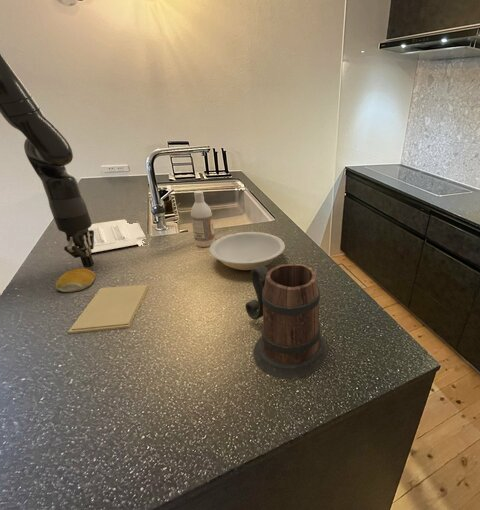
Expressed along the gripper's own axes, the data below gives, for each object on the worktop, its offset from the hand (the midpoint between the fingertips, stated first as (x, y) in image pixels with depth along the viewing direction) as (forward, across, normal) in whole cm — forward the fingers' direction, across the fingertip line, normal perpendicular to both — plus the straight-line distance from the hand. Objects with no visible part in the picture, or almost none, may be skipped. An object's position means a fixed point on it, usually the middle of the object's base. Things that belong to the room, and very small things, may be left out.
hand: (89, 266), depth 93 cm
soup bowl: (+2, +2, +47) cm, 47 cm away
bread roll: (+2, +8, 0) cm, 8 cm away
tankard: (+2, +42, +54) cm, 68 cm away
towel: (+1, +21, +13) cm, 25 cm away
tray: (+2, -26, -3) cm, 26 cm away
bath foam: (+2, -16, +31) cm, 35 cm away
